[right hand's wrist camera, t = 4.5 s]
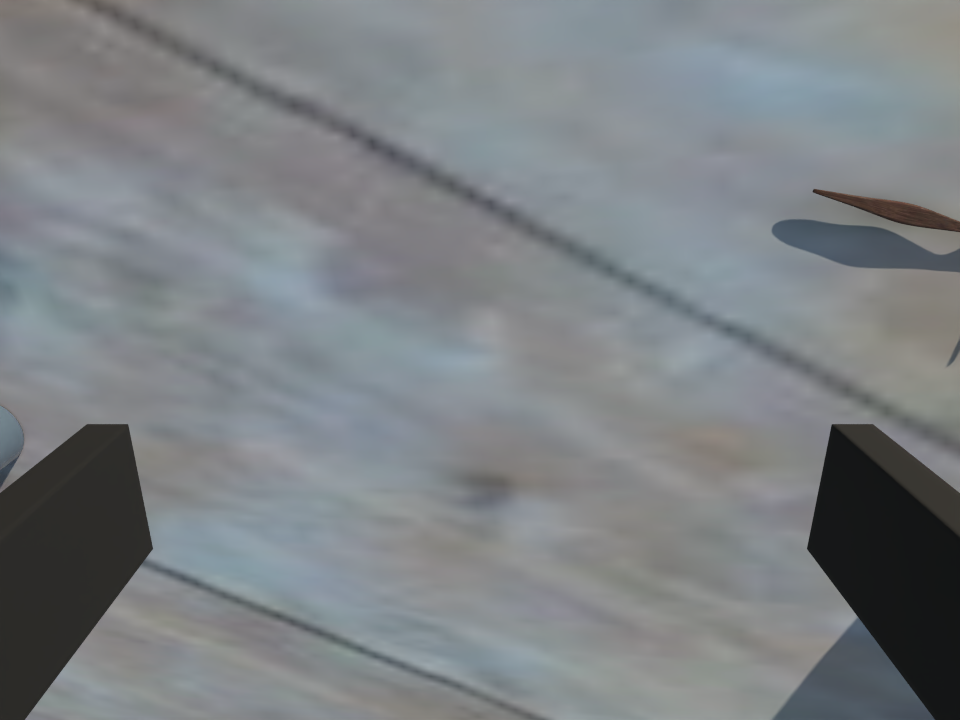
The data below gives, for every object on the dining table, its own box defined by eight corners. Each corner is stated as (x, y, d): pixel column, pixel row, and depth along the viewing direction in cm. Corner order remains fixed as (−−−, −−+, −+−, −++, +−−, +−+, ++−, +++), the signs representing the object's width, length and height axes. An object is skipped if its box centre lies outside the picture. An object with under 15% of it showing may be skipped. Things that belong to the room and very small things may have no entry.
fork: (818, 165, 38) (835, 168, 36) (1076, 231, 39) (1106, 237, 37) (799, 212, 38) (816, 217, 37) (1052, 275, 40) (1081, 283, 38)
